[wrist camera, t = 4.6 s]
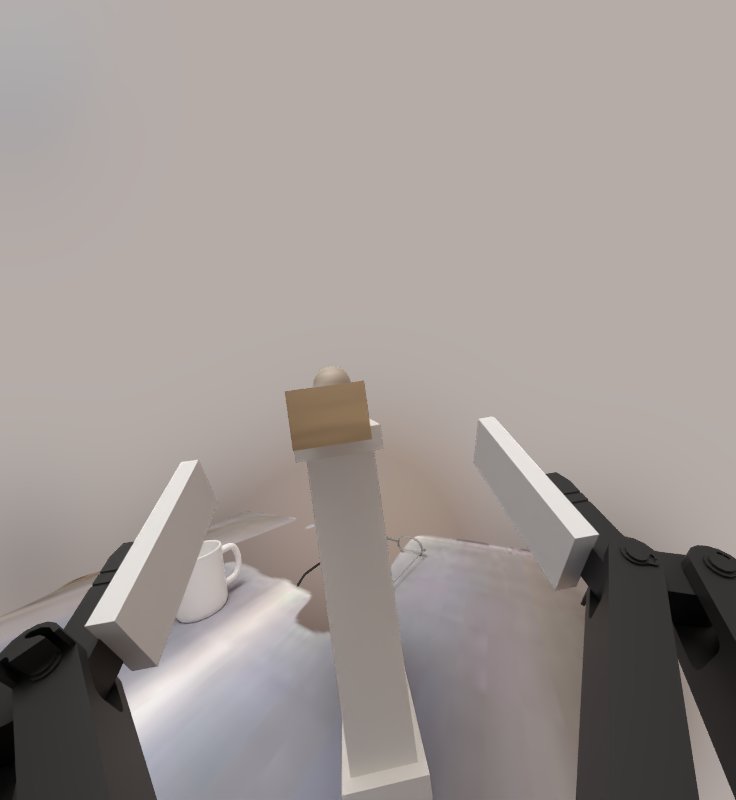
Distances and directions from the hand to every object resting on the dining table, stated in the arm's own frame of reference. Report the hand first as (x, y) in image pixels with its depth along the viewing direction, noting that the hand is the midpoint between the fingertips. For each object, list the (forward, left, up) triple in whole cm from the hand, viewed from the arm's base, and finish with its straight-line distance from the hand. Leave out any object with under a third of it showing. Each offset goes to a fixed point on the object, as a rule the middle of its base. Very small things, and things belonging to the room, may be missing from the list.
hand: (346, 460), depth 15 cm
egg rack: (-8, +10, +1) cm, 13 cm away
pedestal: (-10, +14, -29) cm, 34 cm away
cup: (-48, +20, -29) cm, 60 cm away
